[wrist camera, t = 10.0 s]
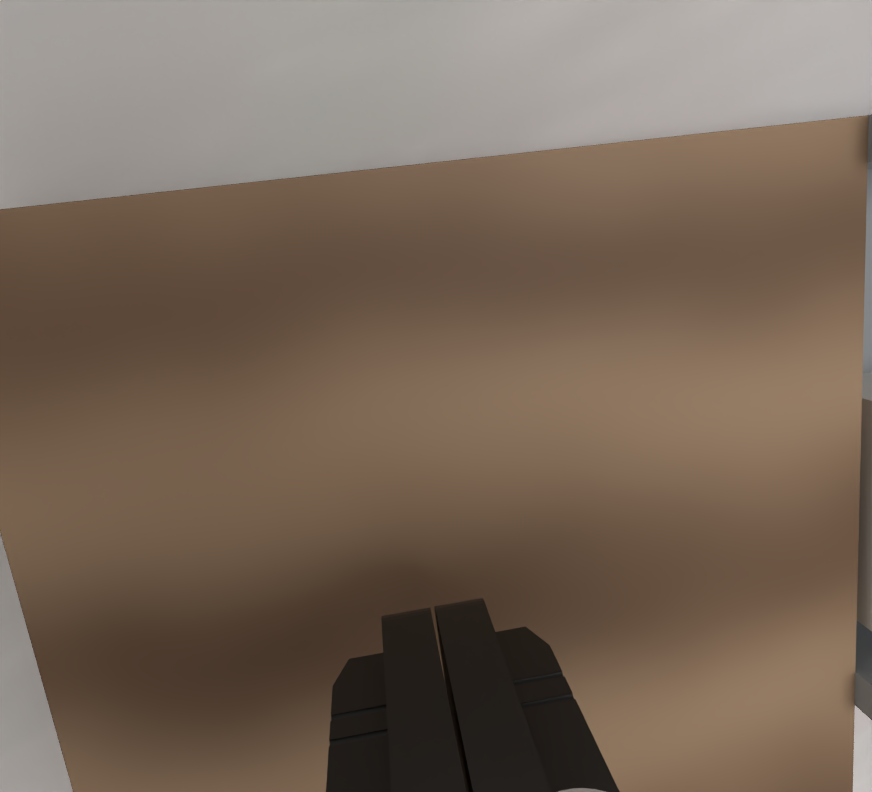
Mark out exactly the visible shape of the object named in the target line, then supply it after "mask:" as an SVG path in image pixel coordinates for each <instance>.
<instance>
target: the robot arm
mask: <svg viewBox="0 0 872 792" xmlns="http://www.w3.org/2000/svg"><path fill="white" fill-rule="evenodd" d="M434 608H435V617H436V624H437V631H438V638H439V645H440V652H441V659H442V665H441V660H440V655H439V649H438V644H437V639H436V634H435V629H434V624H433V619H432V613H431V609H430V607H429V608H423V609H418V610H412V611H406V612H401V613H395V614H390V615H384V616H381V622H382V639H383V653H378V654H373V655H367V656H362V657H356V658H351V659H349V660H348V661H347V663H346V665H345V666H344V668H343V670H342V671H341V673H340V674H339V676H338V678H337V679H336V681H335V683H334V684H333V687H332V703H331V721H330V735H329V742H330V746H329V751H328V767H327V783H326V792H620V791H619V789H618V787H617V785H616V783H615V781H614V779H613V777H612V775H611V773H610V771H609V768H608V766H607V764H606V762H605V760H604V758H603V756H602V754H601V752H600V750H599V747H598V745H597V743H596V741H595V739H594V737H593V735H592V733H591V731H590V729H589V726H588V724H587V722H586V720H585V718H584V716H583V714H582V712H581V710H580V707H579V705H578V703H577V701H576V699H574V697H573V693H572V691H571V689H570V686H569V684H568V682H567V680H566V678H565V676H563V673H562V670H561V668H560V665H559V663H558V661H557V659H556V657H555V655H554V653H553V651H552V649H551V647H550V645H549V644H548V643H546V642H545V641H544V640H542V639H541V638H540V637H539V636H537V635H536V634H535V633H533V632H532V631H531V630H529V629H528V628H527V627H526V626H525V627H520V628H514V629H509V630H503V631H498V632H495V630H494V627H493V624H492V621H491V618H490V615H489V613H488V610H487V607H486V604H485V601H484V599H483V598H479V599H473V600H467V601H462V602H456V603H450V604H445V605H439V606H435V607H434ZM442 666H443V670H442ZM443 673H444V675H443Z"/></svg>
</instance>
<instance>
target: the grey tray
mask: <svg viewBox="0 0 872 792" xmlns="http://www.w3.org/2000/svg"><path fill="white" fill-rule="evenodd" d="M871 372H872V115H869V124H868V166H867V207H866V249H865V291H864V332H863V373H871ZM855 705H856V706H857V707H858V708H859V709H860V710H861V711H862V712H863V713H865V714H866V715H867V716H868V717H869V718H870V719H871V720H872V631H870V630H869V629H868V628H866V627H865V626H864V625H862V624H861V623H859V622H858V621H857V624H856V666H855Z"/></svg>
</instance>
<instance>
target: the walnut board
mask: <svg viewBox="0 0 872 792" xmlns="http://www.w3.org/2000/svg"><path fill="white" fill-rule="evenodd" d="M868 124H869V115H868V116H859V117H849V118H840V119H831V120H822V121H813V122H803V123H794V124H785V125H776V126H766V127H757V128H748V129H739V130H730V131H720V132H711V133H702V134H693V135H683V136H674V137H665V138H656V139H646V140H637V141H628V142H619V143H610V144H600V145H591V146H582V147H573V148H563V149H554V150H545V151H536V152H527V153H517V154H508V155H499V156H490V157H480V158H471V159H462V160H453V161H443V162H434V163H425V164H416V165H407V166H397V167H388V168H379V169H370V170H360V171H351V172H342V173H333V174H324V175H314V176H305V177H296V178H287V179H277V180H268V181H259V182H250V183H240V184H231V185H222V186H213V187H204V188H194V189H185V190H176V191H167V192H157V193H148V194H139V195H130V196H120V197H111V198H102V199H93V200H84V201H74V202H65V203H56V204H47V205H37V206H28V207H19V208H10V209H1V210H0V533H1V536H2V540H3V544H4V547H5V551H6V554H7V558H8V561H9V565H10V568H11V572H12V576H13V579H14V583H15V586H16V590H17V593H18V597H19V600H20V604H21V608H22V611H23V615H24V618H25V622H26V625H27V629H28V633H29V636H30V640H31V643H32V647H33V650H34V654H35V657H36V661H37V665H38V668H39V672H40V675H41V679H42V682H43V686H44V689H45V693H46V697H47V700H48V704H49V707H50V711H51V714H52V718H53V722H54V725H55V729H56V732H57V736H58V739H59V743H60V746H61V750H62V754H63V757H64V761H65V764H66V768H67V771H68V775H69V778H70V782H71V786H72V789H73V792H326V783H327V767H328V751H329V746H330V742H329V735H330V721H331V703H332V687H333V684H334V683H335V681H336V679H337V678H338V676H339V674H340V673H341V671H342V670H343V668H344V666H345V665H346V663H347V661H348V660H349V659H351V658H356V657H362V656H367V655H373V654H378V653H383V639H382V622H381V616H384V615H390V614H395V613H401V612H406V611H412V610H418V609H423V608H429V607H430V609H431V613H432V619H433V624H434V629H435V634H436V639H437V644H438V649H439V655H440V660H441V665H442V659H441V652H440V645H439V638H438V631H437V624H436V617H435V608H434V607H435V606H439V605H445V604H450V603H456V602H462V601H467V600H473V599H479V598H483V599H484V601H485V604H486V607H487V610H488V613H489V615H490V618H491V621H492V624H493V627H494V630H495V632H498V631H503V630H509V629H514V628H520V627H525V626H526V627H527V628H528V629H529V630H531V631H532V632H533V633H535V634H536V635H537V636H539V637H540V638H541V639H542V640H544V641H545V642H546V643H548V644H549V645H550V647H551V649H552V651H553V653H554V655H555V657H556V659H557V661H558V663H559V665H560V668H561V670H562V673H563V676H565V678H566V680H567V682H568V684H569V686H570V689H571V691H572V693H573V697H574V699H576V701H577V703H578V705H579V707H580V710H581V712H582V714H583V716H584V718H585V720H586V722H587V724H588V726H589V729H590V731H591V733H592V735H593V737H594V739H595V741H596V743H597V745H598V747H599V750H600V752H601V754H602V756H603V758H604V760H605V762H606V764H607V766H608V768H609V771H610V773H611V775H612V777H613V779H614V781H615V783H616V785H617V787H618V789H619V791H620V792H852V791H853V749H854V708H855V666H856V624H857V582H858V541H859V499H860V457H861V416H862V374H863V332H864V291H865V249H866V207H867V166H868ZM442 670H443V666H442ZM443 675H444V673H443Z"/></svg>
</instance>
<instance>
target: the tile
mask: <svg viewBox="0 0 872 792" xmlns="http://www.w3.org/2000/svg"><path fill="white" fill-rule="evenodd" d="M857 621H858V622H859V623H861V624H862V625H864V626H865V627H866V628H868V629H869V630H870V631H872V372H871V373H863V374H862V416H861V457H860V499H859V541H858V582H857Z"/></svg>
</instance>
